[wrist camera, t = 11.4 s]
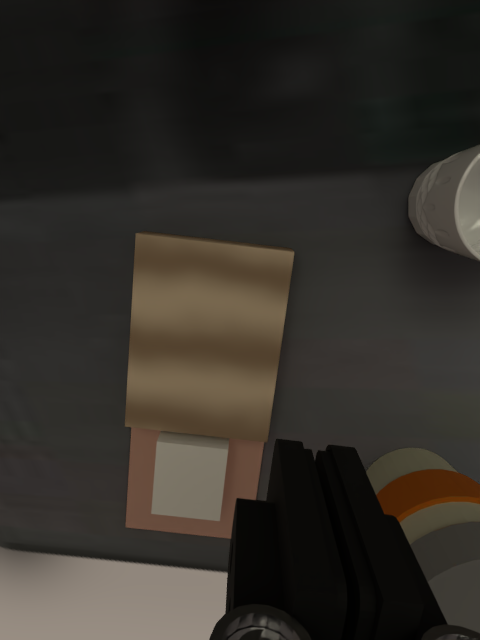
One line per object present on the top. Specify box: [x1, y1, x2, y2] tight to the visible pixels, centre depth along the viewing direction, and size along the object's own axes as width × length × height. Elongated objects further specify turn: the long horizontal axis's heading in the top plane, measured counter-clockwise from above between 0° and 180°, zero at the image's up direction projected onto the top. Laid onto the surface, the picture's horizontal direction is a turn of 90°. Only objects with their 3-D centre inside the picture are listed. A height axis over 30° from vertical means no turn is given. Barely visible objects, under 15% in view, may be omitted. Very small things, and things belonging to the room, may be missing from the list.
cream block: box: [151, 431, 229, 521], centre depth 40 cm, size 7×6×3 cm
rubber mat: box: [126, 427, 264, 539], centre depth 42 cm, size 12×12×1 cm
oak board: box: [125, 231, 294, 442], centre depth 38 cm, size 16×12×3 cm
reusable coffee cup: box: [366, 448, 480, 633], centre depth 35 cm, size 13×13×15 cm
